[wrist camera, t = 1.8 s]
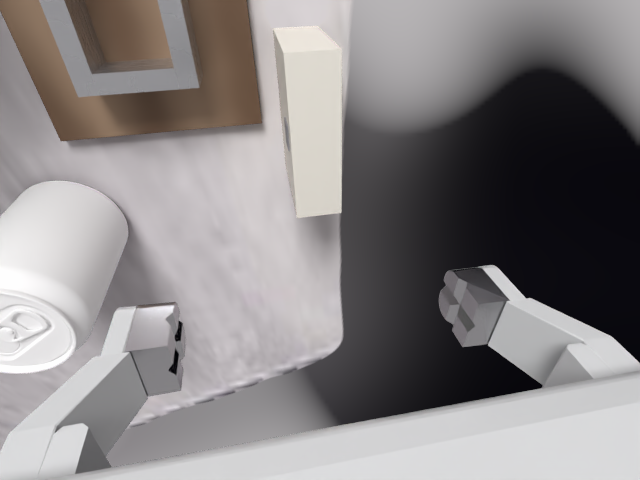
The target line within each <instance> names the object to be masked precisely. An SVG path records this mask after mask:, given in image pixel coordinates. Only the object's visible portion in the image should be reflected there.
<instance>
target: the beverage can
mask: <svg viewBox="0 0 640 480" xmlns="http://www.w3.org/2000/svg"><path fill="white" fill-rule="evenodd" d="M127 239H128V225H127V222H126V219H125V217H124V215H123V213H122V212H121V210H120V209H119V208H118V206H117V205H116V204H115V203H114V202H113V201H112V200H111V199H109V198H108V197H107V196H105V195H104V194H102V193H101V192H99V191H97V190H95V189H93V188H91V187H88V186H86V185H83V184H79V183H75V182H70V181H47V182H42V183H38V184H36V185H33V186H31V187H29V188H28V189H26V190H25V191H24V192H22V193H21V194H20V196H19V197H18V198H17V199H16V200H15V201H14V202H13V203H12V204H11V205H10V207H9V208H8V209H7V210H6V211H5V212H4V213H3V214H2V215H1V217H0V373H11V374H25V373H35V372H41V371H45V370H49V369H52V368H54V367H57V366H59V365H61V364H62V363H64V362H65V361H66V360H68V359H69V358H70V357H71V355H72V354H73V353H74V352H75V351H76V350H77V349H79V348H80V347H81V346H82V345H83V344H84V343H85V342H86V340H87V339H88V338H89V336H90V334H91V332H92V329H93V327H94V324H95V322H96V319H97V317H98V314H99V311H100V309H101V306H102V304H103V301H104V299H105V296H106V294H107V291H108V288H109V286H110V283H111V281H112V278H113V276H114V273H115V270H116V268H117V265H118V263H119V260H120V258H121V255H122V253H123V250H124V247H125V245H126V242H127Z"/></svg>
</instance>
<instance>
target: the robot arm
mask: <svg viewBox="0 0 640 480" xmlns="http://www.w3.org/2000/svg"><path fill="white" fill-rule="evenodd" d="M444 282H445V283H446V286H445V287H444V288H443V289H442V290H441V292H440V296H439V307H440V310H441V313H442V315H443V316H444V318H445V319H446V320H447V321H448V322H450V323H452V324H453V329H452V331H453V332H454V334H455V336H456V337H457V339H458V340H459V342H460V343H461V345H462V347H467V346H475V345H483V344H488V346H490V347H491V348H493V349H494V350H495V351H497V352H498V353H499V354H501V355H502V356H504V357H505V358H506V359H508V360H509V361H510V362H512V363H513V364H515V365H516V366H517V367H519V368H520V369H521V370H523V371H524V372H526V373H527V374H528V375H530V376H531V377H533V378H534V379H535V380H537V381H538V382H539V383H541V384H542V385H543V386H542V388H541V389H536V390H531V391H526V392H520V393H514V394H509V395H503V396H498V397H492V398H487V399H482V400H477V401H471V402H466V403H460V404H455V405H450V406H444V407H438V408H433V409H427V410H422V411H417V412H411V413H406V414H400V415H395V416H390V417H384V418H379V419H373V420H368V421H363V422H357V423H351V424H346V425H340V426H335V427H330V428H324V429H319V430H313V431H307V432H302V433H296V434H291V435H286V436H280V437H275V438H270V439H263V440H258V441H253V442H247V443H242V444H236V445H231V446H225V447H220V448H214V449H209V450H204V451H199V452H193V453H187V454H182V455H176V456H171V457H165V458H160V459H154V460H150V461H144V462H138V463H133V464H127V465H122V466H116V467H111V465H110V464H109V462H108V460H107V458H106V455H107V454H108V453H109V451H110V450H111V449H112V447H113V446H114V444H115V443H116V442H117V440H118V439H119V437H120V436H121V435H122V433H123V432H124V431H125V429H126V428H127V427H128V425H129V424H130V422H131V421H132V420H133V418H134V417H135V416H136V414H137V413H138V411H139V410H140V409H141V407H142V406H143V405H144V403H145V402H146V400H147V399H148V396H154V395H159V394H165V393H170V392H176V391H181V385H182V377H183V367H182V363H181V360H182V359H183V357H184V356H185V332H184V327H183V323H182V322H180V321H179V314H180V311H179V307H178V304H177V303H176V302H170V303H159V304H148V305H138V306H131V307H120V308H118V309H117V310H116V311H115V312H114V315H113V318H112V321H111V324H110V327H109V330H108V333H107V336H106V339H105V342H104V346H103V349H102V352H101V355H100V356H96V357H93V358H92V359H91V360H90V361H89V362H88V363H87V364H85V365H84V366H83V367H82V368H81V369H80V370H79V371H78V372H77V373H75V374H74V375H73V376H72V377H71V378H70V379H69V380H68V381H67V382H65V383H64V384H63V385H62V386H61V387H60V388H59V389H58V390H57V391H55V392H54V393H53V394H52V395H51V396H50V397H49V398H48V399H47V400H46V401H44V402H43V403H42V404H41V405H40V406H39V407H38V408H37V409H36V410H34V411H33V412H32V413H31V414H30V415H29V416H28V417H27V418H26V419H24V420H23V421H22V422H21V423H20V424H19V425H18V426H17V427H16V428H14V429H13V430H12V431H11V432H10V433H9V435H8V437H7V439H6V441H5V443H4V445H3V447H2V450H1V452H0V480H640V363H639V362H638V361H637V360H636V359H635V358H634V357H633V356H632V355H630V354H629V353H628V352H627V351H626V350H625V349H624V348H623V347H622V346H621V345H620V344H619V343H618V342H617V341H616V340H615V339H613V337H611V336H609V335H607V334H605V333H603V332H601V331H599V330H597V329H595V328H592V327H590V326H588V325H586V324H584V323H582V322H580V321H577V320H575V319H573V318H571V317H569V316H567V315H565V314H563V313H561V312H558V311H556V310H554V309H552V308H550V307H548V306H546V305H544V304H542V303H540V302H537V301H535V300H533V299H531V298H529V299H526V298H525V297H524V296H523V295H522V294H521V293H520V292H519V290H518V289H517V288H516V287H515V286H514V285H513V284H512V283H511V282H510V281H509V280H508V279H507V277H506V276H505V275H504V274H503V273H502V272H501V271H500V270H499V269H498V268H497V267H496V266H494V265H489V266H481V267H476V268H475V267H474V268H466V269H458V270H450V271H448V272H447V273H446V274H445V278H444Z"/></svg>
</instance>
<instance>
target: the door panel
mask: <svg viewBox="0 0 640 480" xmlns="http://www.w3.org/2000/svg"><path fill="white" fill-rule="evenodd" d="M273 35H274V46H275V57H276V68H277V78H278V89H279V100H280V110H281V121H282V132H283V143H284V153H285V164H286V169H287V174H288V179H289V183H290V188H291V193H292V197H293V202H294V206H295V211H296V216H297V218H303V217H311V216H319V215H328V214H336V213H341V199H342V48H340V47H339V46H338V45H337V44H336V43H335V42H334V41H333V40H332V39H331V38H330V37H329V36H328V35H327V34H326V33H324V32H323V31H322V30H321V29H320V28H319V27H318V26H304V27H288V28H273Z"/></svg>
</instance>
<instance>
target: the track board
mask: <svg viewBox="0 0 640 480" xmlns="http://www.w3.org/2000/svg"><path fill="white" fill-rule="evenodd" d="M85 2H86V5H87V8H88V11H89V14H90V17H91V20H92V23H93V26H94V29H95V32H96V34H97V37H98V40H99V43H100V46H101V49H102V52H103V55H104V58H105V61H106V62H118V61H133V60H147V59H162V58H171V54H170V50H169V46H168V42H167V37H166V33H165V29H164V25H163V21H162V17H161V13H160V9H159V5H158V1H157V0H85ZM188 4H189V9H190V13H191V18H192V23H193V28H194V33H195V38H196V43H197V48H198V53H199V57H200V62H201V67H202V72H203V78H202V81H201V84H200V88H191V89H178V90H165V91H152V92H139V93H126V94H113V95H100V96H88V97H78V95H77V93H76V91H75V88H74V86H73V83H72V81H71V78H70V76H69V73H68V71H67V68H66V66H65V63H64V61H63V58H62V56H61V54H60V51H59V49H58V46H57V44H56V41H55V39H54V36H53V34H52V31H51V29H50V26H49V24H48V22H47V19H46V17H45V14H44V12H43V9H42V7H41V4H40V2H39V0H0V11H1V13H2V15H3V17H4V20H5V22H6V24H7V26H8V28H9V30H10V33H11V35H12V37H13V39H14V41H15V43H16V45H17V48H18V50H19V52H20V54H21V56H22V58H23V61H24V63H25V65H26V67H27V69H28V71H29V73H30V76H31V78H32V80H33V82H34V84H35V86H36V89H37V91H38V93H39V95H40V97H41V99H42V101H43V104H44V106H45V108H46V110H47V112H48V114H49V117H50V119H51V121H52V123H53V125H54V127H55V129H56V132H57V134H58V136H59V138H60V140H61V141H68V140H79V139H90V138H102V137H113V136H124V135H135V134H146V133H158V132H169V131H180V130H191V129H202V128H213V127H225V126H236V125H247V124H258V123H262V120H261V112H260V104H259V96H258V88H257V80H256V72H255V64H254V56H253V48H252V40H251V32H250V24H249V16H248V8H247V0H188Z"/></svg>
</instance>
